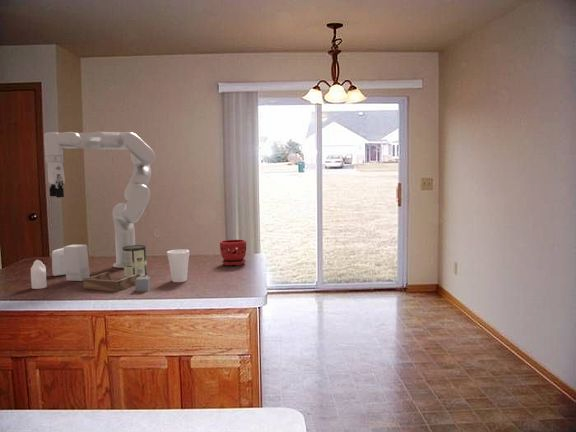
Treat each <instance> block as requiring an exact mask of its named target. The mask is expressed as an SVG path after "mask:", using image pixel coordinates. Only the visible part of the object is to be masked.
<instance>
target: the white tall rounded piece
mask: <svg viewBox="0 0 576 432" xmlns="http://www.w3.org/2000/svg"><path fill="white" fill-rule="evenodd" d="M30 281H31V282H30V283H31V289H35V290H40V289H45V288H47V286H48V285H47V268H46V265H45V264H43V262H42V261H41V260H39V259H36V260H35V261H33V264H32V266H30Z"/></svg>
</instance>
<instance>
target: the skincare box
mask: <svg viewBox="0 0 576 432" xmlns="http://www.w3.org/2000/svg"><path fill="white" fill-rule="evenodd" d="M63 248H64V258H65V269H66V275H65V278H66V279H65V280H66V281H69V282H70V281H71V282H72V281H73V282H83V279H86V278H89V277H91V276H90V275H91V274H90V265H89V264H90V263H89V255H88V254H89V253H88V245H87V244H69V245H66V246H63Z"/></svg>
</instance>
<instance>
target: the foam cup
mask: <svg viewBox="0 0 576 432" xmlns="http://www.w3.org/2000/svg"><path fill="white" fill-rule="evenodd" d="M166 253H167V259H168V264H169V270H170V276H171V281H172V282H173V283H182V282H183V283H184V282H186V281H187V279H188V273H189V272H188V270H189V259H190V250H189V249H171V250H168V251H166Z"/></svg>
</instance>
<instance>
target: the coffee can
mask: <svg viewBox="0 0 576 432" xmlns="http://www.w3.org/2000/svg"><path fill="white" fill-rule="evenodd" d="M123 260H124V268H123V275H124V277H123V278H126V277H129V276H131V275H134V274H140V277H148V268H147V267H148V266H147V265H148V263H147V246H146V245H144V244H135V245H130V246H125V247H123Z"/></svg>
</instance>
